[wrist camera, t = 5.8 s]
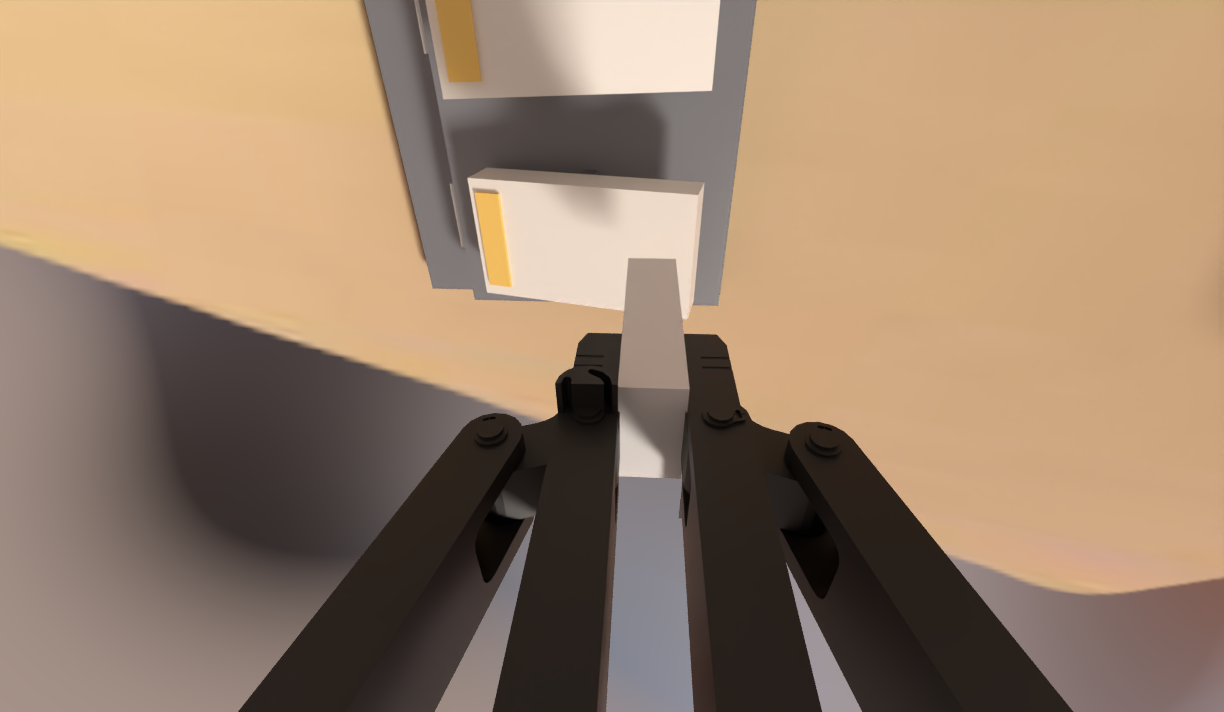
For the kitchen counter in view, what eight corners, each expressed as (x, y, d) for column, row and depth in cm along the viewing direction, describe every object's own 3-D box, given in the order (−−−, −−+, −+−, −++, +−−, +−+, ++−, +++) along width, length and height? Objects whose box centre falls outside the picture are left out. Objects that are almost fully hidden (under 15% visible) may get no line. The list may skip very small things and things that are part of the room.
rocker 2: (704, 182, 19) (697, 196, 17) (693, 300, 22) (687, 321, 20) (486, 167, 21) (465, 178, 19) (503, 277, 24) (485, 293, 22)
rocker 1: (712, -96, 16) (731, -106, 14) (699, 85, 19) (713, 91, 17) (416, -98, 15) (404, -110, 13) (449, 92, 18) (442, 100, 16)
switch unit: (820, -583, 14) (901, -875, 9) (717, 282, 28) (728, 334, 24) (261, -533, 15) (86, -771, 10) (442, 276, 30) (403, 325, 25)
